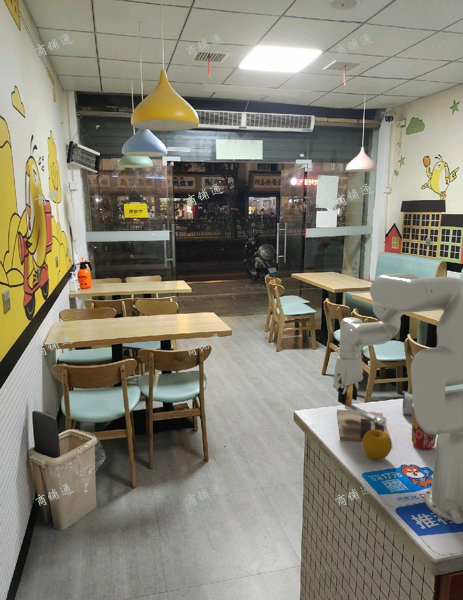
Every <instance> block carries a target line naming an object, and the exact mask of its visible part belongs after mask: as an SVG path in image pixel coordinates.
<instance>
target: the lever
mask: <svg viewBox="0 0 463 600" xmlns="http://www.w3.org/2000/svg"><path fill="white" fill-rule="evenodd" d="M345 394H346V404H345V405H344V404H342V405H343V406H344V410H349V411H351V412H353V413H355V414H357V415H359V416H362V417H364V418H366V419H370V420H371V421H372V422H373V424H374V425H375V426H377V427H385V426H386V427H387V418H386V417H384V416H383V417H382V416H375V415H373V414H371V413H369V412H370V411H366V410H364V409H362V408H359V407H358V406H355V405H353V399H352V394H353V384H351V385H348V386H347V388H346V392H345Z"/></svg>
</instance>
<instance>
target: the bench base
mask: <svg viewBox="0 0 463 600" xmlns="http://www.w3.org/2000/svg"><path fill="white" fill-rule="evenodd" d="M368 412H369V413H371V414H373V415H375V416H382V417H384V416H383V413H382V412H374V411H368ZM336 417H337V427H338V434H339V441H340V442H348V443H350V442H352V443H360V444H362V440H363V437H364V435H365V433H366V432H367V431H369V430H381V431H383V432H385V433H386V434H388V435H389V437H390V433H389V429H388V427H387V425H386V426H385V427H377V426H375V425H374V424H373V422H372V421H371V420H370V419H366V418H364V417H362V416H359V415H357V414H355V413H353V412H351V411H349V410H347V409H336ZM390 438H391V437H390Z"/></svg>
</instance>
